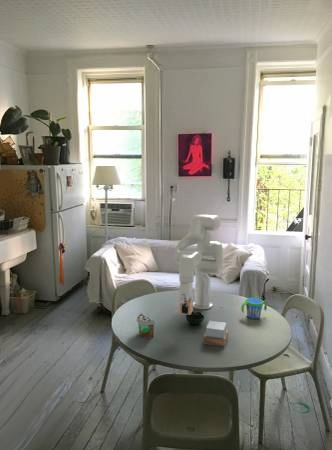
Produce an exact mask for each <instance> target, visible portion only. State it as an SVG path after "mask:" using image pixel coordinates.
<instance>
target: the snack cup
mask: <svg viewBox="0 0 332 450" xmlns="http://www.w3.org/2000/svg"><path fill="white" fill-rule="evenodd" d="M263 305H264V307H263ZM245 306H246V315H247V317H248V318H250V319H253V320H255V319H256V320H257V319H260V317H261V315H262V311H263V310H264V311H267V310H268V308H267V307H268V306H267V303H266V301H264V300H263V299H261V298H259V297H248V298H246V299H245V300H244V302H243V303H242V305H241V309H240V310H241V312H242V313H245V312H244V309H245ZM262 309H263V310H262Z"/></svg>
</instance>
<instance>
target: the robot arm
mask: <svg viewBox="0 0 332 450" xmlns="http://www.w3.org/2000/svg"><path fill="white" fill-rule="evenodd" d="M220 227H221V218H220V216H219V215H216V214H194V215H192V216H191V222H190V225H189V228H188V233H187V235H185V236H184V237H183V238H182V239H180V240H179V242H177V245H176V247H175V250H174V255H173V259H174V263H176V264H178V265H179V266H178V269H179V271H178V272H179V275H178V276H179V279H178V281H179V289H178V291H179V293H178V300H179V301H180V303H181V304H182V313H185V314H184V315H188V306H187V303H188V301H189V300H190V301H192V297H193V295H194V294H193V293H195V296H194V301H193V309H197V310H209V309H211V308H213V303H212V302H211V278H210V276H209V274H211V275H219V274H221V273H222V271H223V260H224V259H223V257H224V256H223V253H224V251H223V249H224V248H223V244H222V243H221V242H220V241H212V240H211V239H212V237H211V235H212V234H211V232H212V231H213V232H214V231H217V230H218V229H219V228H220ZM194 245H196V250H187V249H186V248H188V247H190V246H194ZM207 257H208V258H207ZM211 257H212V258H211ZM194 282H195V284H194ZM193 285H194V286H193ZM193 287H194V288H193ZM193 289H195V292H193V291H194V290H193ZM185 302H186V303H185Z"/></svg>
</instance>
